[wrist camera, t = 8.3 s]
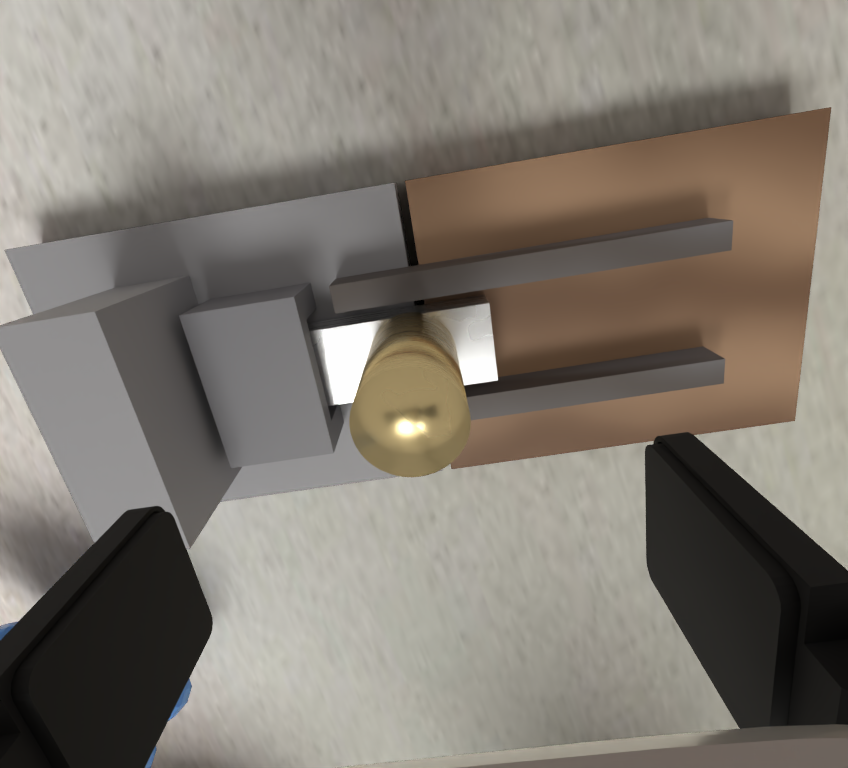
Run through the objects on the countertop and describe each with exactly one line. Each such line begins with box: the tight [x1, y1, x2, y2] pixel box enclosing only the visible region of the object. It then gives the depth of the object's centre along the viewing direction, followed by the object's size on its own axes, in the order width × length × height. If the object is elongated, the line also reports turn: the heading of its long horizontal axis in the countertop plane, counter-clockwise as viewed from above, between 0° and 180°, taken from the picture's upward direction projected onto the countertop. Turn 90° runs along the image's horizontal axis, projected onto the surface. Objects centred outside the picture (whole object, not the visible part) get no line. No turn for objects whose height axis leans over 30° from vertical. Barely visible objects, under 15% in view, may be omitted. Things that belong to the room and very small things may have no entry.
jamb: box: [0, 183, 442, 549], centre depth 19 cm, size 12×15×8 cm
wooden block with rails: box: [329, 107, 831, 469], centre depth 20 cm, size 12×18×4 cm, turn 99°
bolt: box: [307, 295, 498, 477], centre depth 17 cm, size 3×10×7 cm, turn 99°
